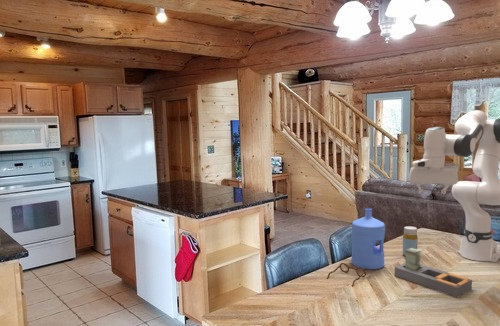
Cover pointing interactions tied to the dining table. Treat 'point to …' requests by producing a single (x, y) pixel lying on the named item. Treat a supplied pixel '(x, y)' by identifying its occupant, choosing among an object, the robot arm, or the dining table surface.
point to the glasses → (348, 270)
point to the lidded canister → (409, 238)
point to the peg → (412, 259)
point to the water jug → (367, 242)
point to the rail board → (435, 279)
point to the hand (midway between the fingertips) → (432, 193)
